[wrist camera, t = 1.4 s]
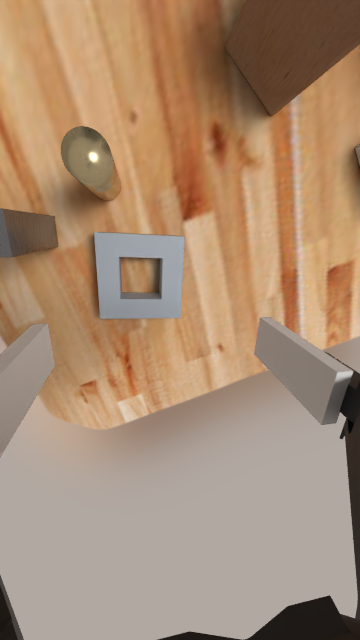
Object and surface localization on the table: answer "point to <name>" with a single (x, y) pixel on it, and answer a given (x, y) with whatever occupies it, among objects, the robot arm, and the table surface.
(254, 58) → the wooden block
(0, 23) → the table surface
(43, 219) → the square bit
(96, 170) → the cylinder
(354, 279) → the table surface
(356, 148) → the light bulb box
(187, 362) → the table surface
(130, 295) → the jig
